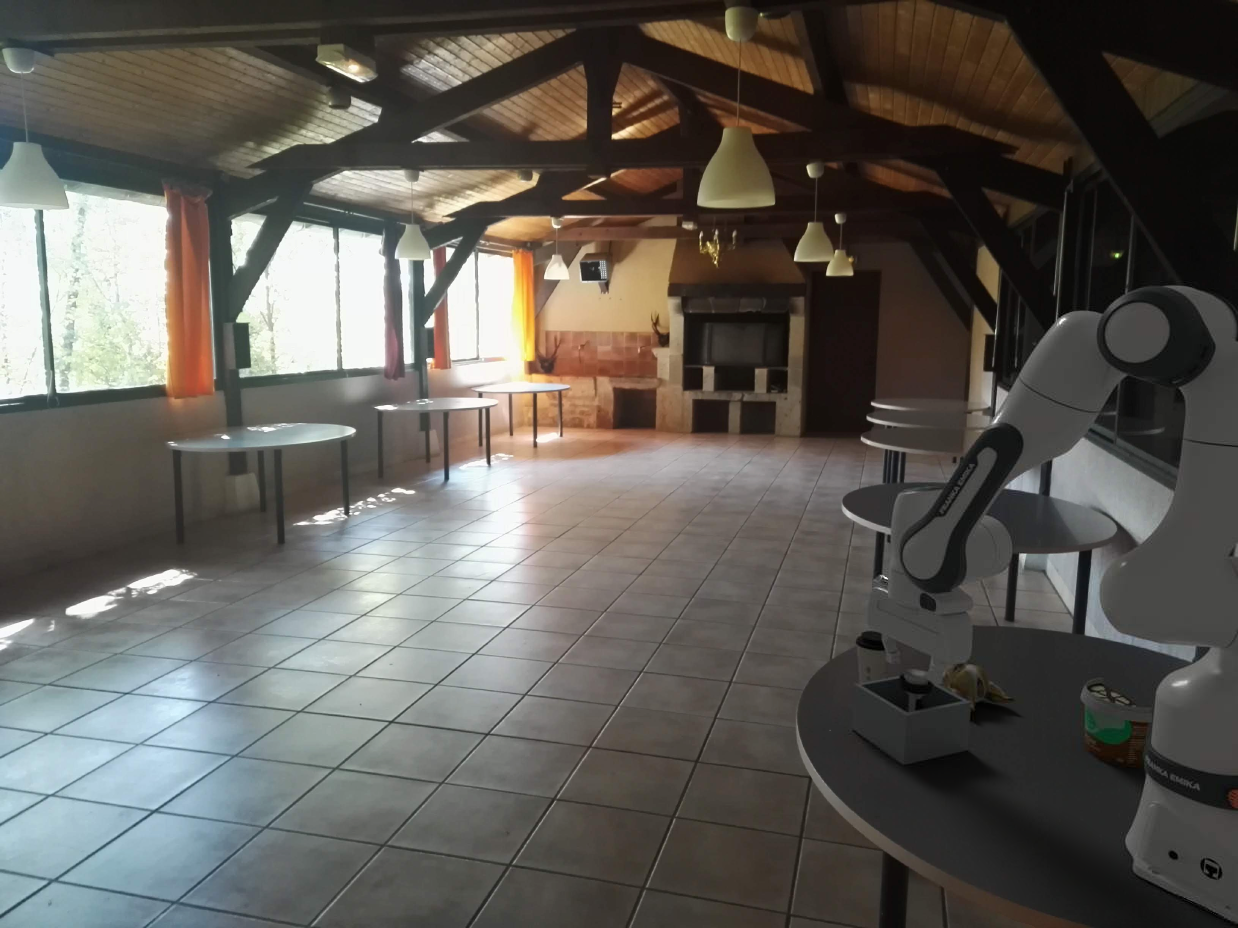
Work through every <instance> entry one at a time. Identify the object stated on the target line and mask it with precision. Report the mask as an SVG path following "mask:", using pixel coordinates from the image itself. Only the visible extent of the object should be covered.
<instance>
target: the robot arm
mask: <svg viewBox="0 0 1238 928" xmlns="http://www.w3.org/2000/svg"><path fill="white" fill-rule="evenodd" d="M1127 376H1129V377H1132V378H1134V379H1137V380H1141V381H1145V382H1147V383H1151V384H1153V385H1156V386H1159V387H1162V388H1164V389H1167V390H1175V389H1179V390H1180V392H1181V393H1182V395H1183V398H1184V404H1185V417H1184V426H1183V435H1182V441H1181V442H1182V443H1181V451H1180V452H1181V454H1180V459H1179V466H1178V473H1177V478H1176V484H1175V488H1174V492H1173V497H1172V499H1171V503H1170V505H1169V507H1168V509H1167V511H1166V513H1165V515H1164V517H1163V518H1162V519H1161V521H1160V522H1159V524H1158V525H1157V527H1156V528H1155V529H1154V530H1153V532H1152V533H1151V534H1150V535H1148V537H1147V538H1146V539H1145V540H1143V541H1142V542H1141V543H1140V544H1139V545H1138V546H1136V547H1134V548H1133V549H1132V550H1130V551H1128V552H1126V553H1125V554H1123V555H1120V556H1119V557H1117V558H1116V559H1115V560H1114V561H1113V562H1112V563H1110V565H1109V566H1108V567H1107V568H1106V570H1105V571H1104V574H1103V576H1102V578H1101V579H1100V580H1101V581H1100V583H1099V589H1098V590H1099V592H1098V595H1099V596H1098V597H1099V603H1100V606H1101V610H1102V612H1103V615H1104V617H1105V618H1106V619H1107V621H1108V622H1109V623H1110V625H1111V626H1112V627H1113V628H1114V629H1115V631H1117V632H1118V633H1120V634H1123V635H1127V636H1131V637H1134V638H1138V639H1140V640H1146V641H1148V642H1149V641H1150V642H1154V643H1158V644H1163V645H1164V644H1166V645H1178V646H1189V647H1190V646H1191V647H1202V648H1203V647H1204V648H1205V647H1206V648H1209V650H1208V651H1207V653H1206V654H1204V656H1202V657H1201V658H1200V659H1199V660H1197V661H1196V662H1194V663H1192V664H1190V665H1187V666H1185V667H1182V668H1179V669H1176V670H1174V671H1172V672H1170V673H1169V674H1167V675H1166V677H1164V678H1163V680H1162V681H1161V682H1160V683H1159V685H1158V686H1157V689H1156V691H1155V698H1154V699H1155V701H1154V709H1153V717H1152V729H1151V737H1149V738H1148V739H1147V742H1146V748H1145V754H1144V763H1143V768H1144V772H1145V780H1144V785H1143V791H1142V795H1141V798H1140V802H1139V806H1138V808H1137V811H1136V815H1135V817H1134V820H1133V822H1132V824H1131V826H1130V829H1129V831H1128V832H1127V834H1126V836H1125V846H1126V848H1127V851H1128V853H1130V855H1131V856H1132V859H1133V862H1132V870H1133V872H1134V873H1135V874H1136V875H1137V876H1138V877H1140V878H1142V879H1143V880H1146V881H1149V882H1150V883H1152V884H1154V885H1155V886H1158V887H1160V888H1162V889H1164V890H1166V891H1168V892H1171V893H1172V894H1173V895H1176V894H1177V895H1176V896H1178V895H1179V896H1178V897H1180V896H1182V897H1184V898H1187V899H1188V900H1190V901H1193V902H1196V903H1198V904H1201V905H1202V906H1205V907H1207V908H1208V909H1209V910H1212V911H1213V912H1216V913H1218V914H1219V915H1221V916H1223V917H1224V918H1227V919H1228V920H1230V921H1235V922H1237V923H1238V556H1230V554H1231V552H1232V551H1233V549H1234V548H1235V547H1236V545H1237V544H1238V310H1237V309H1236V308H1235V306H1234V305H1233V304H1232V303H1231V302H1230V301H1229V300H1228V299H1226V298H1224V297H1223V296H1221V295H1219V294H1217V293H1214V292H1211V291H1209V290H1208V291H1207V290H1199V289H1198V288H1197V289H1196V288H1194V287H1190V286H1187V285H1186V286H1184V285H1164V286H1163V285H1162V286H1161V285H1149V286H1143V287H1139V288H1136V289H1134V290H1130V291H1129V292H1127V293H1125V294H1123V295H1121V296H1120V297H1118V298H1117V299H1115V300H1114V301H1113V302H1112V303H1110V305H1109V306H1108V307H1107V308H1106V309H1105V310H1104V312H1103V313H1101V312H1096V311H1093V310H1092V311H1091V310H1076V311H1075V310H1074V311H1070V312H1068V313H1066V314H1063V315H1062V316H1060V317H1059V318H1058V319H1056V320H1055V322H1054V323H1053V324H1052V325H1051V327H1050V328H1049V329H1048V330H1047V331H1046V333H1045V334H1044V336H1043V337H1042V338H1041V339H1040V340H1039V342H1038V343H1037V345H1036V347H1035V348H1034V349H1033V351H1032V352H1031V354H1030V355H1029V356H1028V359H1027V360H1026V361H1025V363H1024V365H1023V367H1022V368H1021V370H1020V372H1019V374H1018V376H1017V378H1016V380H1015V382H1014V384H1013V385H1012V387H1011V388H1010V390H1009V391H1008V394H1007V395H1006V398H1005V399H1004V401H1003V402H1002V404H1001V405H1000V407H999V409H998V410H997V411H996V413H995V415H994V416H993V417H992V419H991V420H990V422H989V423H988V424H987V426H986V427H985V429H984V430H983V431H982V432H981V434H980V435H979V436H978V438H977V439H976V440H975V442H973V444H972V445H971V446H970V448H969V449H968V451H967V452H966V454H965V455H964V457H963V458H962V459H961V461H960V462H959V464H958V466H957V468H956V469H955V471H954V472H953V474H952V475H951V477H950V478H949V480H948V481H947V483H946V485H945V486H940V485H939V486H938V485H931V486H930V485H928V486H927V485H926V486H921V487H920V486H919V487H912V488H911V487H909V488H906V489H903V490H902V491H900V492H899V493H898V494H897V496H896V499H895V502H894V505H893V510H892V516H891V525H890V544H891V549H892V551H891V553H892V555H891V559H890V561H889V567H888V576H887V575H884V574H879V575H878V576H876V577H874V579H873V580H872V583H871V586H872V587H871V590H870V592H869V595H868V599H867V605H866V613H865V615H866V616H865V622H866V624H867V626H868V628H869V629H870V630H871V631H875V632H879V633H881V634H882V642H883V645H884V648H885V650H886V661H887V662H889V663H890V664H891V665H898V664H900V663H901V655H902V654H901V652H900V651H898V646H897V644H896V641H897V642H898V643H902V644H904V645H906V646H908V647H910V648H913V649H915V650H916V651H919V652H921V653H922V654H923V653H924V654H926V655H928V656H930V657H933V660H932V662H933V663H934V664H935V666H934V668H933V669H932V671H931V670H930V671H928V670H926V672H927V681H928V682H930V683H932V684H934V685H938V684H941V683H942V678H943V673H944V671H945V670H946V668H947V667H948V666H949V664H950V665H953V664H960V663H964V662H966V661H967V660H968V659H969V660H970V658H971V656H972V650H973V621H972V618H971V616H970V614H969V613H968V612H970V611H972V610H973V608H974V599H973V598H972V597H971V596H970V595H969V594H968V593H966V592H965V591H964V590H963V589H961V587H959V586H964V585H967V584H971V583H975V582H978V581H981V580H984V579H989V578H991V577H994V576H996V575H998V574H1000V573H1003V572H1004V571H1005V570H1007V568H1008V567H1009V565H1010V564H1011V562H1012V559H1013V557H1014V541H1013V538H1012V536H1011V533H1010V531H1009V529H1008V528H1007V526H1006V525H1005V524H1004V523H1003V522H1002V521H1001V520H999V519H997V518H996V517H994V516H991V515H986V514H987V513H988V511H989V510H990V509H991V506H993V504H994V503H995V501H996V499H997V498H998V497H999V495H1000V493H1002V491H1003V490H1004V489H1005V488H1006V486H1008V485H1009V484H1010V483H1011V482H1012V481H1014V480H1015V479H1016V478H1018V477H1020V476H1021V475H1023V474H1024V473H1026V472H1027V471H1030V470H1031V469H1034V468H1035V467H1038V466H1040V465H1042V464H1044V463H1047V462H1049V461H1051V460H1054V459H1056V458H1058V457H1060V456H1063V455H1065V454H1066V453H1068V452H1070V451H1071V450H1072V449H1073V448H1074V447H1075V446H1076V445H1077V444H1078V443H1079V442H1080V441H1081V439H1082V438H1083V437H1084V436H1085V435H1086V434H1087V432H1088V431H1089V430H1090V429H1091V427H1092V426H1093V424H1094V422H1095V421H1096V420H1097V418H1098V416H1099V414H1100V412H1101V410H1102V409H1103V407H1104V406H1105V404H1106V402H1107V401H1108V399H1109V397H1110V395H1111V393H1112V392H1113V391H1114V389H1115V388H1116V387H1117V385H1118V384H1119V383H1120V382H1121V381H1122V380H1123V379H1124V378H1126V377H1127ZM1182 897H1181V898H1182ZM1184 898H1183V899H1184ZM1188 900H1187V901H1188ZM1190 901H1189V902H1190ZM1224 918H1223V919H1224ZM1228 920H1227V921H1228ZM1230 921H1229V922H1230Z"/></svg>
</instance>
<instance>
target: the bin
mask: <svg viewBox="0 0 1238 928" xmlns="http://www.w3.org/2000/svg"><path fill="white" fill-rule="evenodd" d="M899 677H900V675H896V676H892V677H891V676H890V677H888V678H885V679H879V680H874V681H868V682H863V683H860V682H858V683H854V684H853V698H852V699H853V701H852V720H851V721H852V722H851V724H852V725H851V729H852V728H853V729H854V730H855V731H857V732H858V733H859V734H861V735H862V736H863V737H865V738H866V739H867V740H869V741H870V742H871V743H870V742H869V741H868V742H869V743H870V744H872V743H873V744H874V745H873V744H872V745H873V746H875V745H876V746H875V747H877V749H879V748H880V749H879V750H880V751H882V750H883V751H882V752H884V753H885V754H887V755H888V756H890V757H891V758H892V759H894V760H895V761H897V762H898V763H900V764H902V765H903V766H904V765H905V766H906V765H909V764H914V763H918V762H923V761H927V760H931V759H936V758H939V757H944V756H945V757H946V756H948V755H949V756H950V755H953V754H957V753H962V752H966V751H968V750H969V738H970V737H969V735H970V724H971V723H970V722H971V721H970V720H971V711H970V710H971V702H970V701H968V700H966V699H964V698H962V697H960V696H958V695H956V694H955V693H953V692H951V691H949V690H947V689H945V688H943V687H941V686H939V685H934V686H932V692H931V693H929V694H926V695H923V696H922V705H923V709H922V710H917V711H912V712H905V709H906V708H907V705H908V704H909V694H908V693H907V692H906V691H904V690H903V689H901V682H900V681H899ZM863 737H862V738H863ZM866 739H865V740H866ZM867 740H866V741H867Z"/></svg>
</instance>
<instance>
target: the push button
mask: <svg viewBox="0 0 1238 928" xmlns="http://www.w3.org/2000/svg"><path fill="white" fill-rule="evenodd" d="M899 676H900V677H899V681H900V682H901V689H903V690H904V691H906V692H907V693H908V694H909V704H908V705H907V708H906V709H905V712H912V711H917V710H922V709H923V705H922V696H923V695H926V694H929V693H931V692H932V686H934V684H932V683H930V682H928V681H927V671H924V670H922V669H915V668H914V669H912V668H911V669H907V670H905V673H903V674H901V675H899Z"/></svg>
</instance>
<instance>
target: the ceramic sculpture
mask: <svg viewBox="0 0 1238 928" xmlns="http://www.w3.org/2000/svg"><path fill="white" fill-rule="evenodd" d="M932 660H933V657H932V656H930V662H929V666H928V670H927V671H930V670H931V671H932V669H933V668H934V666H935V664H934V663H933V662H932ZM938 685H939V686H941V687H943V688H945V689H947V690H949V691H951V692H953V693H955V694H956V695H958V696H960V697H962V698H964V699H966V700H968V701H970V702H971V710H970V712H976V710H975V709H976V708H975V707H976V703H979V702H981V701H982V700H983V699H986V700H987V701H989V702H991V703H994V704H1011V703H1015V702H1016V699H1014V698H1012V697H1009V696H1008V695H1007V694H1006V693H1005V692H1004V690H1003V689H1002V688H1001V687H1000V686H999V685H997V684H995V682H994V681H991V680H989V679H988V676H987V673H986V672H985V670H984V669H983V668H982V667H981V666H979V664H977V663H974V662H972V661H970V658H969V659H968V660H967V661H966V662H964V663H960V664H953V665H950V664H949V666H948V667H947V668H946V670H945V671H944V673H943V678H942V683H941V684H938Z"/></svg>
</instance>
